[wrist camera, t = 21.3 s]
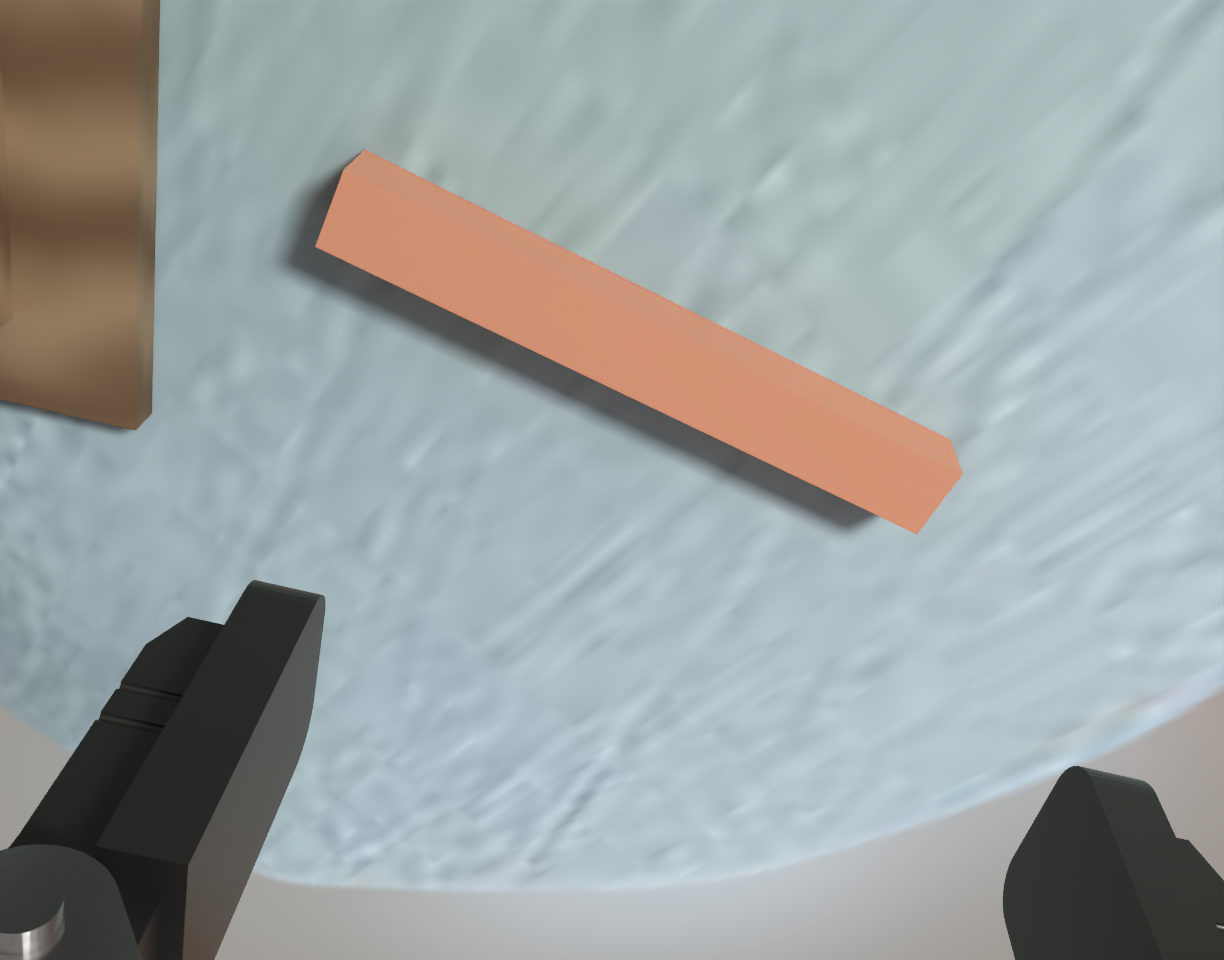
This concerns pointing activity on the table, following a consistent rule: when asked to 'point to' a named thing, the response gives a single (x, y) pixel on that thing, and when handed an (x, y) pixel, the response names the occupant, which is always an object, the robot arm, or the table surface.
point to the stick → (635, 341)
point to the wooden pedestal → (78, 206)
